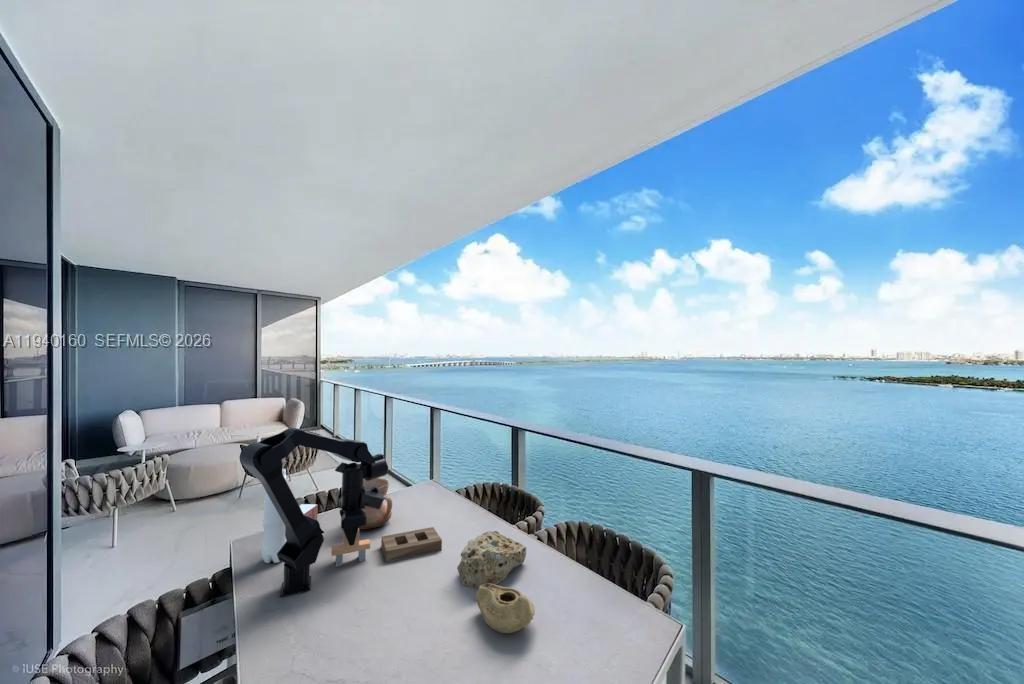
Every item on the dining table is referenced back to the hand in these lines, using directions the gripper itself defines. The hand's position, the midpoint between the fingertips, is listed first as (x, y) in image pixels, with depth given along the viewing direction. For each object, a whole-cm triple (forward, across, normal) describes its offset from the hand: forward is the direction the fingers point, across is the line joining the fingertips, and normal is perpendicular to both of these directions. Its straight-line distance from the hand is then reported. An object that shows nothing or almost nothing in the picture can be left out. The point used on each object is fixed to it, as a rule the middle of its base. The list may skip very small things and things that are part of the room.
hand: (351, 540), depth 109 cm
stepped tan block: (+6, 0, 0) cm, 6 cm away
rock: (+6, -22, -34) cm, 41 cm away
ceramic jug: (+6, +23, -8) cm, 25 cm away
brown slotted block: (+6, 0, -17) cm, 18 cm away
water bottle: (+6, +10, +19) cm, 22 cm away
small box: (+6, +18, +13) cm, 23 cm away
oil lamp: (+6, -42, -28) cm, 51 cm away
